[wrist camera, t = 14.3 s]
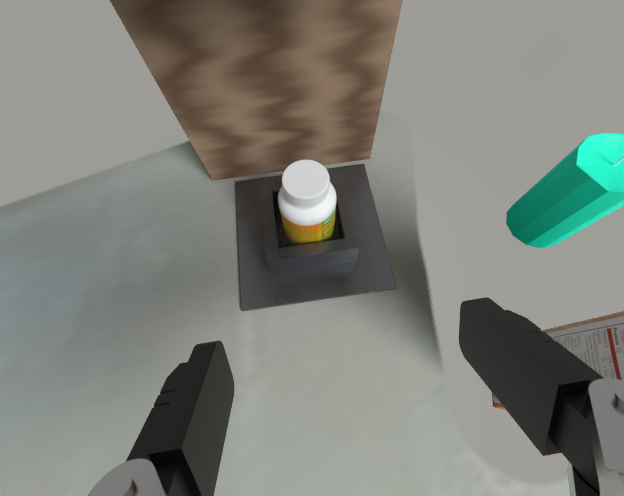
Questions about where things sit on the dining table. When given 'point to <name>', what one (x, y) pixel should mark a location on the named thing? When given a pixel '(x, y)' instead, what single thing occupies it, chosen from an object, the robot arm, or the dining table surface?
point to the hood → (268, 76)
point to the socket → (310, 246)
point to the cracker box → (593, 345)
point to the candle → (572, 193)
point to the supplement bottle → (307, 203)
